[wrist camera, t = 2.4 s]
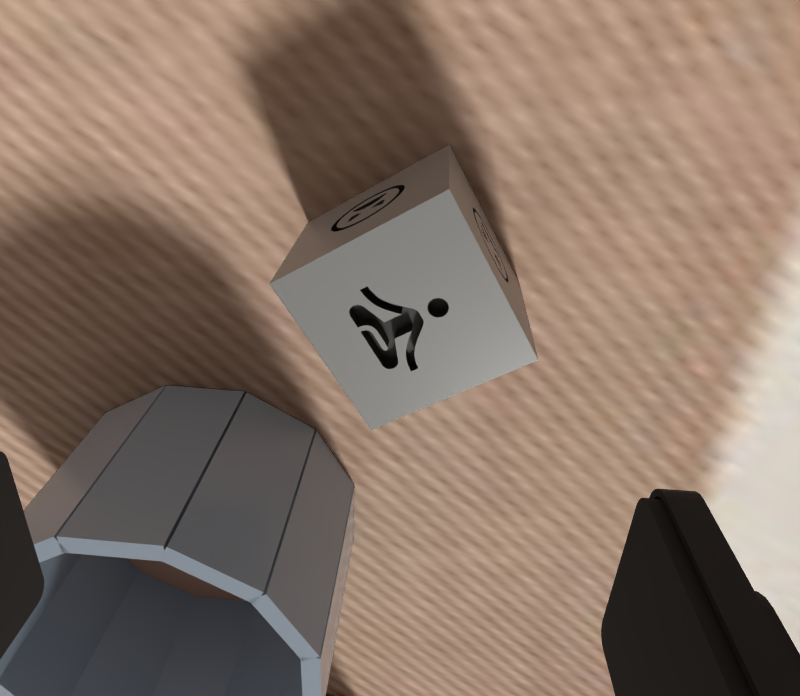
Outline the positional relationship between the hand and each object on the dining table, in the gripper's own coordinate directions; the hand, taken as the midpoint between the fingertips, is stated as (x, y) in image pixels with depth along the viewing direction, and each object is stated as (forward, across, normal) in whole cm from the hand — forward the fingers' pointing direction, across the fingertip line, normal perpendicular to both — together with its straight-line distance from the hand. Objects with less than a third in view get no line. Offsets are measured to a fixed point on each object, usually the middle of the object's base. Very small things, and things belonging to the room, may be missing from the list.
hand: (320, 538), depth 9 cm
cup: (+13, +6, +11) cm, 18 cm away
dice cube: (+12, -1, 0) cm, 13 cm away
